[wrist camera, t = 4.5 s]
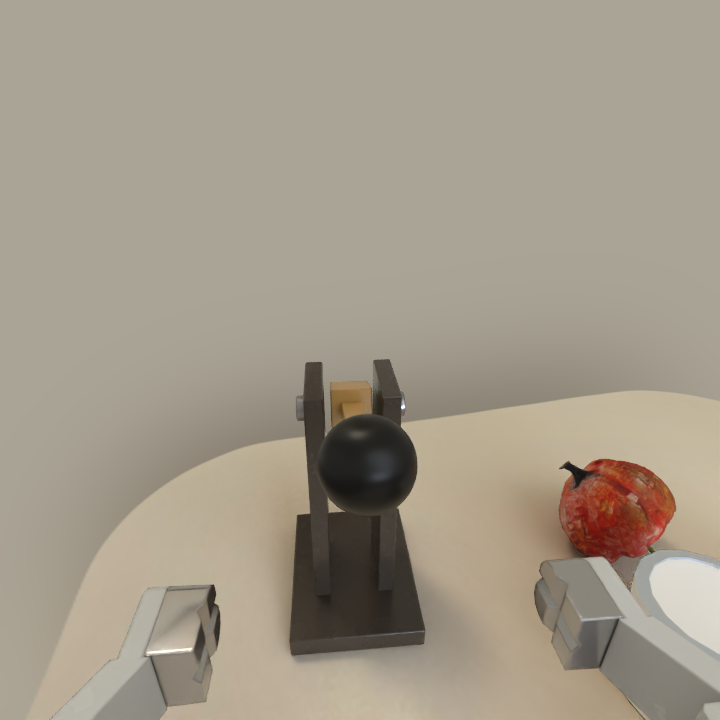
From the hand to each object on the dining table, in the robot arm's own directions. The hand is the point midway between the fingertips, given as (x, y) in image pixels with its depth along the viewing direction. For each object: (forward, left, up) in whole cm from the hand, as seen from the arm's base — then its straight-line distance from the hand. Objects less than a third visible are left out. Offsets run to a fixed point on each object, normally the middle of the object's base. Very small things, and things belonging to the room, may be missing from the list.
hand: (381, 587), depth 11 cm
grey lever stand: (+6, +13, -17) cm, 22 cm away
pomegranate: (+24, +6, -18) cm, 30 cm away
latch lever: (+4, +8, -3) cm, 9 cm away
